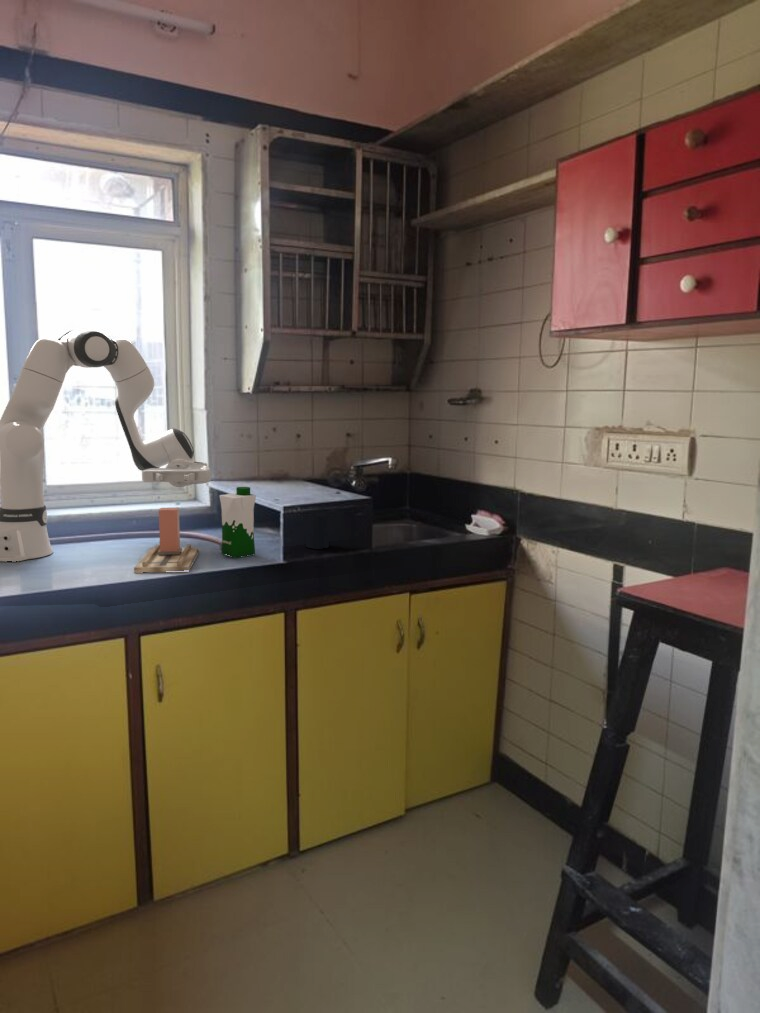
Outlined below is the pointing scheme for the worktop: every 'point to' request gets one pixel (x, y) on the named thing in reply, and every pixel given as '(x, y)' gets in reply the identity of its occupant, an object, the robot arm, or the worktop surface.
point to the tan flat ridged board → (166, 560)
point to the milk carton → (238, 522)
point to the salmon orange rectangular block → (169, 531)
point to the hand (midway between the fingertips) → (173, 478)
